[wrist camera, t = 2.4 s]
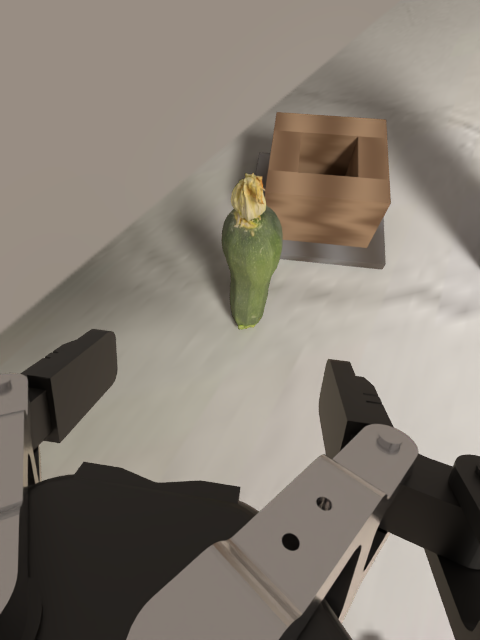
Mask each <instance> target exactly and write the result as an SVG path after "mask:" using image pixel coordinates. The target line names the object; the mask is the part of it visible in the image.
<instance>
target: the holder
mask: <svg viewBox="0 0 480 640" xmlns="http://www.w3.org/2000/svg"><path fill="white" fill-rule="evenodd" d="M256 176H262V183H263V188H264V189H265V191H264V190H263V195H264V197H265V200H266V205H267V206H268V207H270V208H271V209H272V210H273V211H274V212H275V214H276V215H277V217H278V219H279V220H280V223H281V226H282V233H283V245H282V252H281V256H280V259H287V260H296V261H306V262H316V263H325V264H335V265H345V266H354V267H364V268H374V269H383V267H384V266H385V243H384V219H383V217H384V215H385V213H386V211H387V209H388V207H389V205H390V204H391V199H390V181H389V163H388V145H387V126H386V120H384V119H369V118H354V117H340V116H325V115H310V114H296V113H281V112H277V114H276V121H275V127H274V134H273V141H272V148H271V153H259V158H258V164H257V170H256Z"/></svg>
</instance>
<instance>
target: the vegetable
mask: <svg viewBox="0 0 480 640" xmlns="http://www.w3.org/2000/svg"><path fill="white" fill-rule="evenodd" d="M253 174H254V173H253ZM253 174H246V173H245V179H242V180H239V183H238V184H237V185H236V186H235V188H234V189H233V192H232V197H231V203H232V206H233V208H234V209H233V210H232V211H231V212H230V213H229V215H228V216H227V218H226V219H225V222H224V225H223V230H222V248H223V253H224V255H225V257H226V261H227V263H228V266H229V269H230V273H231V283H230V305H231V312H232V316H233V318H234V319H235V321H236V323H237V324H238V329H244V328H245V329H247V328H249V327H254V326H255V325H256V324H257V323H258V322H259V321H260V319H261V318H262V316H263V312H264V307H265V303H266V300H267V296H268V288H269V284H270V279H271V276H272V274H273V273H274V271H275V270H276V268H277V265H278V263H279V260H280V256H281V252H282V245H283V233H282V226H281V223H280V220H279V219H278V217H277V215H276V214H275V212H274V211H273V210H272V209H271V208H270V207H268V206H267V205H266V200H265V197H264V195H263V190H264V191H265V189H264V188H263V183H262V176H255V175H253Z"/></svg>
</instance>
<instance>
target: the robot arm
mask: <svg viewBox="0 0 480 640" xmlns="http://www.w3.org/2000/svg"><path fill="white" fill-rule="evenodd" d="M116 375H117V353H116V337H115V334H114V332H112V331H105V330H97V329H91V330H90V331H88V332H87V333H85V334H84V335H83V336H81V337H80V338H78V339H77V340H74V341H71V342H69V343H66V344H63V345H62V346H60V347H59V348H57V349H56V350H54V351H53V353H50V354H48V355H47V356H46V357H45V358H43V359H41V360H40V361H38V362H37V363H35V364H34V365H32V366H31V367H29V368H28V369H26V370H25V371H24V372H22V373H21V374H18V373H3V374H0V640H352V638H351V637H350V635H349V634H348V633H347V631H346V630H345V628H344V627H343V625H342V622H343V620H344V618H345V617H346V615H347V613H348V611H349V609H350V606H351V604H352V602H353V600H354V597H355V595H356V593H357V591H358V589H359V587H360V585H361V583H362V581H363V579H364V578H365V576H366V574H367V572H368V571H369V569H370V567H371V566H372V564H373V562H374V560H375V559H376V557H377V555H378V553H379V552H380V550H381V548H382V547H383V545H384V543H385V541H386V540H387V538H388V536H389V535H390V533H392V534H394V535H396V536H398V537H401V538H403V539H405V540H407V541H409V542H412V543H414V544H416V545H418V546H420V547H423V548H424V550H425V553H426V555H427V558H428V561H429V564H430V567H431V570H432V573H433V576H434V579H435V582H436V585H437V588H438V591H439V593H440V596H441V599H442V602H443V605H444V608H445V611H446V614H447V617H448V620H449V623H450V626H451V629H452V631H453V634H454V637H455V640H480V456H476V455H461V456H459V457H458V458H457V459H456V461H455V463H454V465H453V467H452V466H449V465H446V464H444V463H441V462H438V461H435V460H432V459H430V458H427V457H425V456H422V455H420V454H418V448H417V446H416V444H415V442H414V441H413V440H412V439H411V438H410V437H409V436H408V435H406V434H405V433H403V432H402V431H400V430H398V429H396V428H394V427H393V425H392V423H391V421H390V419H389V417H388V415H387V413H386V411H385V408H384V406H383V405H382V402H381V400H380V398H379V397H378V394H377V392H376V390H375V388H374V386H373V385H372V384H371V383H370V382H369V381H368V380H366V379H365V378H364V377H359V376H355V373H354V371H353V368H352V366H351V363H350V362H348V361H340V360H332V359H328V361H327V363H326V367H325V372H324V377H323V383H322V388H321V393H320V398H319V416H320V422H321V428H322V434H323V440H324V446H325V452H326V455H325V454H323V455H321V456H319V457H318V458H317V459H316V460H315V461H313V462H312V463H311V464H310V465H309V466H308V467H307V468H306V469H305V470H304V471H303V472H302V473H301V474H300V475H298V476H297V477H296V478H295V479H294V480H293V481H292V482H291V483H290V484H289V485H288V486H287V487H286V488H284V489H283V490H282V491H281V492H280V493H279V494H278V495H277V496H276V497H275V498H274V499H273V500H272V501H271V502H269V503H268V504H267V505H266V506H265V507H264V508H263V509H262V510H261V511H260V512H259V511H257V510H256V509H255V508H253V507H251V506H249V505H248V504H246V503H243V502H241V501H239V494H240V487H237V486H231V485H225V484H219V483H213V482H206V481H184V482H166V483H157V482H153V481H151V480H148V479H146V478H144V477H141V476H139V475H137V474H134V473H132V472H130V471H127V470H125V469H123V468H119V467H113V466H107V465H100V464H94V463H88V462H83V464H82V465H81V466H80V468H79V469H78V470H77V472H76V473H75V474H73V475H65V476H59V477H55V478H50V479H47V480H44V481H42V477H41V455H40V448H39V444H40V443H41V442H42V441H49V442H56V443H60V442H61V441H62V440H63V439H64V438H65V437H66V436H67V435H68V434H69V432H70V431H71V430H72V429H73V428H74V427H75V426H76V425H77V423H78V422H79V421H80V420H81V419H82V418H83V417H84V416H85V415H86V413H87V412H88V411H89V410H90V409H91V408H92V407H93V406H94V405H95V403H96V402H97V401H98V400H99V399H100V398H101V397H102V396H103V394H104V393H105V392H106V391H107V390H108V389H109V388H110V387H111V386H112V384H113V383H114V381H115V379H116Z"/></svg>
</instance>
